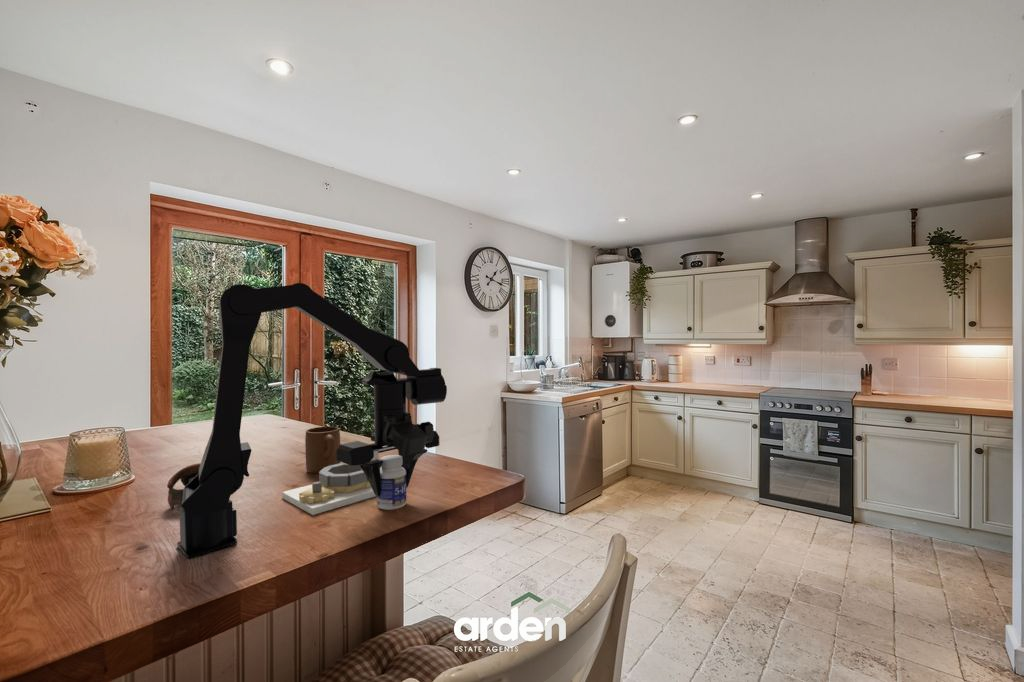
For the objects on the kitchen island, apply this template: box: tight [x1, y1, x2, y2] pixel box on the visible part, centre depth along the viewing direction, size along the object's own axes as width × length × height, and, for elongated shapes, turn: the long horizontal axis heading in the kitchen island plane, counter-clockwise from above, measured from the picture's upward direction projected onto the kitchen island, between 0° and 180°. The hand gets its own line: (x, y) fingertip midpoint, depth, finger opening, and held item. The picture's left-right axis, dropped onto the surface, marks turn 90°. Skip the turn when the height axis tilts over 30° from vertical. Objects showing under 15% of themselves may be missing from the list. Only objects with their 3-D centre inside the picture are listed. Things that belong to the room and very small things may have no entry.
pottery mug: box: [166, 462, 201, 510], centre depth 92 cm, size 12×10×8 cm
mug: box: [304, 426, 342, 474], centre depth 110 cm, size 12×8×9 cm, turn 35°
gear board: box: [281, 462, 377, 516], centre depth 94 cm, size 16×13×4 cm
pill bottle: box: [376, 454, 407, 511], centre depth 88 cm, size 5×5×9 cm
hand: (391, 491), depth 88 cm, fingers open, 6 cm apart
